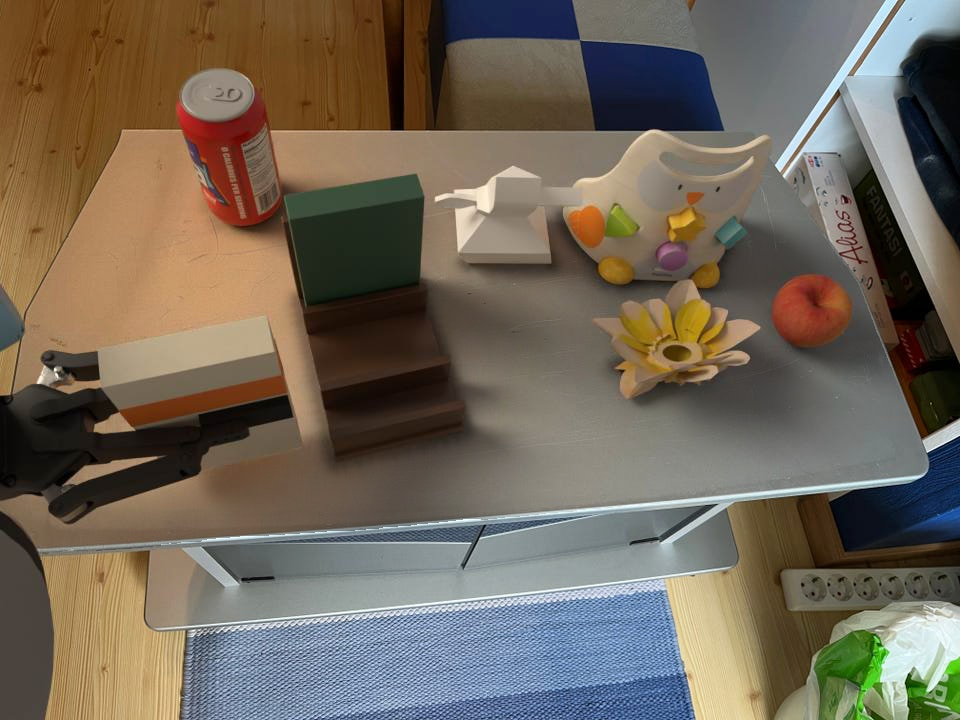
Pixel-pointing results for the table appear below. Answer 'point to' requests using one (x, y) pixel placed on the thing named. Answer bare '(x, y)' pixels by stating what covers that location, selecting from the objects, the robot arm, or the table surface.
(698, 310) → the decorative flower
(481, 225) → the white angular piece
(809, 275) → the apple
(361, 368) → the book rack
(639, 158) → the shape sorter
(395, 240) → the green book
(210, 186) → the soda can
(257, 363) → the book
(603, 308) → the table surface
